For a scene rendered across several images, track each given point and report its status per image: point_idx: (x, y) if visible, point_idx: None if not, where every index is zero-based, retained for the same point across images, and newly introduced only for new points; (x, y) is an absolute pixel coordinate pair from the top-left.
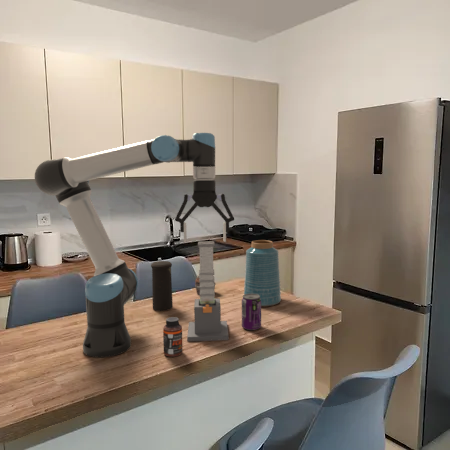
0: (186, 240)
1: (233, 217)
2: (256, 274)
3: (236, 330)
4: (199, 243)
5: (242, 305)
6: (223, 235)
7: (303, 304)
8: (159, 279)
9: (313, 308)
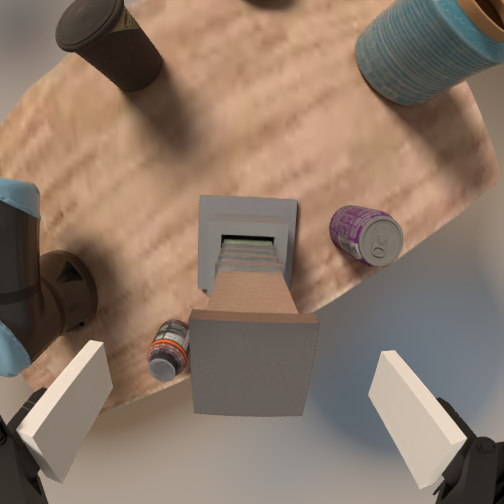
0: (103, 353)
1: (499, 485)
2: (424, 66)
3: (313, 238)
4: (202, 392)
5: (347, 244)
6: (392, 391)
7: (466, 114)
8: (95, 61)
9: (477, 144)
